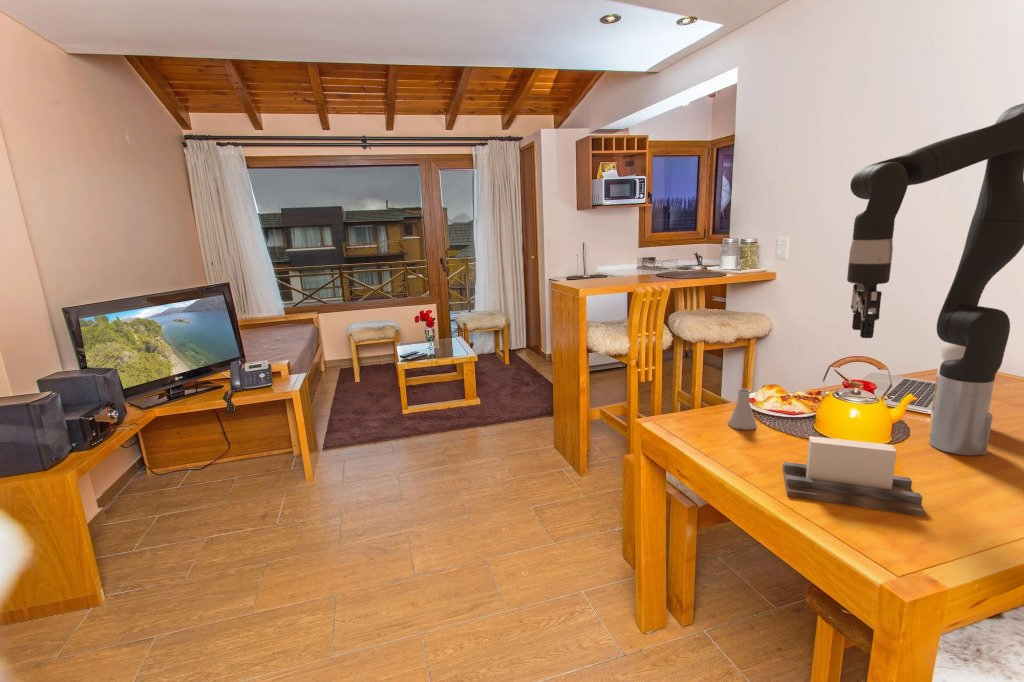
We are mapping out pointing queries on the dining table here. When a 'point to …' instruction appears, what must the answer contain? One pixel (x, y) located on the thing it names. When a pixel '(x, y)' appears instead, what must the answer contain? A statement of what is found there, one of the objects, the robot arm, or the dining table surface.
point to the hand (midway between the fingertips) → (861, 333)
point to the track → (854, 499)
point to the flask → (742, 412)
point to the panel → (851, 462)
